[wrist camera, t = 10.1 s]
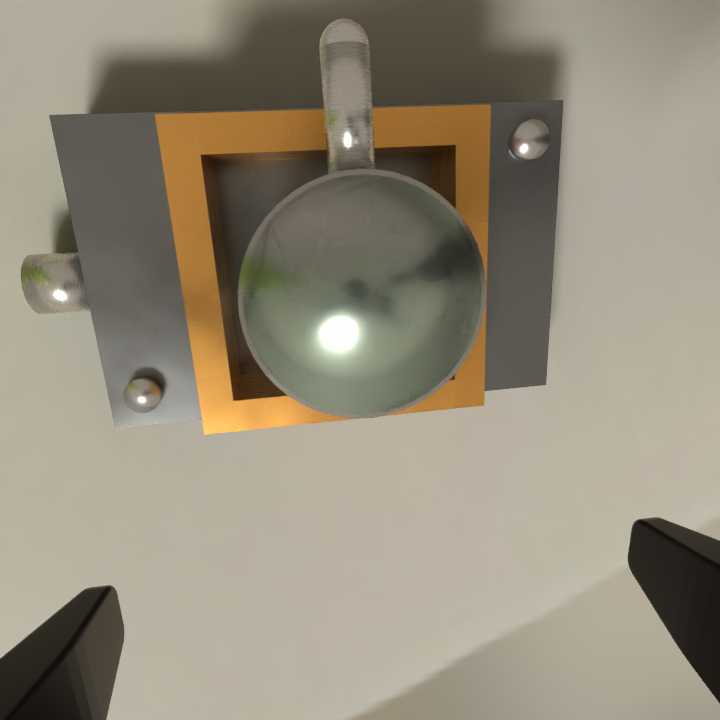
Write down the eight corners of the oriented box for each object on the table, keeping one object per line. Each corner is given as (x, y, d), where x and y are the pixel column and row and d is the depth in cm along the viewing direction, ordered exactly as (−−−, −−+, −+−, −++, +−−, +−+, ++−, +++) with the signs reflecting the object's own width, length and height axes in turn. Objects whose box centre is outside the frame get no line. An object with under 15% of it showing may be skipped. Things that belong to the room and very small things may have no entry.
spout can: (404, 87, 16) (489, -3, 9) (411, 334, 18) (484, 405, 11) (236, 93, 15) (196, 1, 8) (266, 347, 17) (254, 431, 11)
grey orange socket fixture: (528, 114, 19) (609, 81, 14) (517, 365, 22) (582, 408, 17) (19, 130, 17) (-87, 98, 12) (82, 407, 20) (17, 469, 15)
